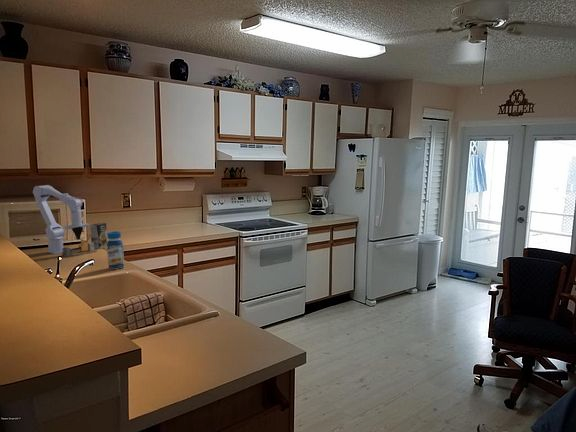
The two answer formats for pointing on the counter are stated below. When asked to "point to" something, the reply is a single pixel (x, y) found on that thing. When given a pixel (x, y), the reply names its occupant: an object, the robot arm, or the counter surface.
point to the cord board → (69, 253)
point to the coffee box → (99, 235)
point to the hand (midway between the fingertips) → (78, 239)
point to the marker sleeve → (83, 246)
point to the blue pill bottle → (115, 250)
